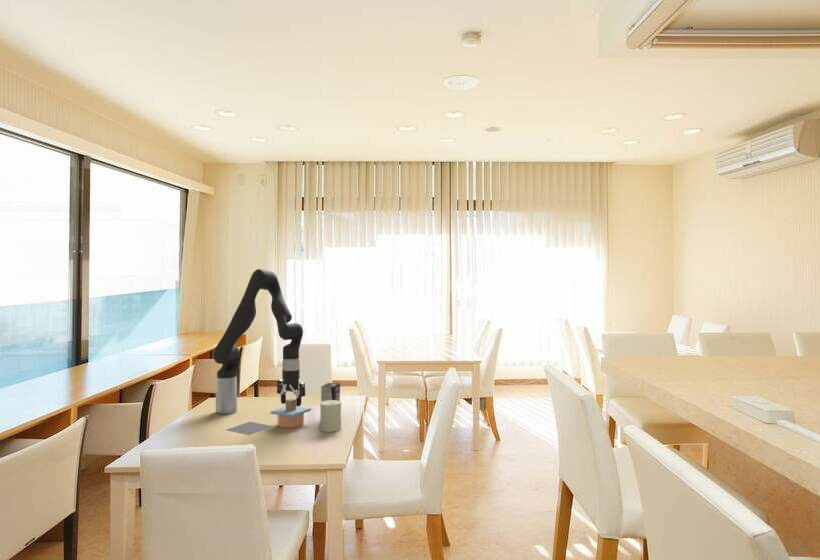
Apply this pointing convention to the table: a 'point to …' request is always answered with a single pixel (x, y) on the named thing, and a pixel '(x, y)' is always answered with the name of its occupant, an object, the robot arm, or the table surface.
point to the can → (330, 415)
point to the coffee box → (330, 392)
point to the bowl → (290, 421)
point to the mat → (249, 428)
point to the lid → (290, 409)
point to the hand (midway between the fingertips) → (291, 404)
